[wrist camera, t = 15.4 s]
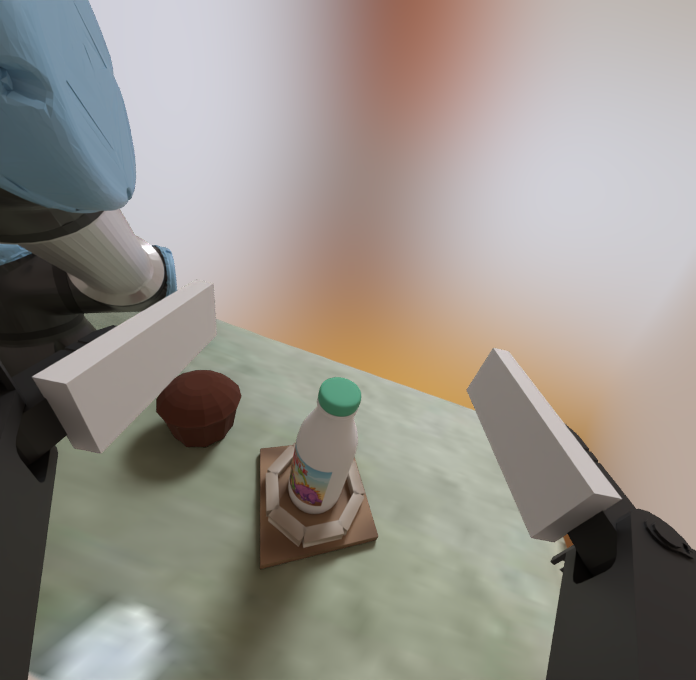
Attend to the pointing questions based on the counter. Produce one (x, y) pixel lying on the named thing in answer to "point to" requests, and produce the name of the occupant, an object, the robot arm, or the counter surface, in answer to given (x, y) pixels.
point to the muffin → (199, 407)
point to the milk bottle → (325, 447)
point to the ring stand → (307, 514)
